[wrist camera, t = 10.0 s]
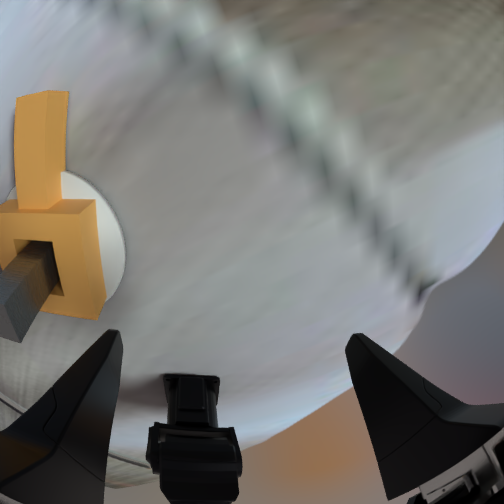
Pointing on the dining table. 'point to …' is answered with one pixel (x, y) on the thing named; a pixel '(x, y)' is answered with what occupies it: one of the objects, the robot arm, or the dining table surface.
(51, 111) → the bracket
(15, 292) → the dark grey post
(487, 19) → the dining table surface
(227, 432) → the robot arm
